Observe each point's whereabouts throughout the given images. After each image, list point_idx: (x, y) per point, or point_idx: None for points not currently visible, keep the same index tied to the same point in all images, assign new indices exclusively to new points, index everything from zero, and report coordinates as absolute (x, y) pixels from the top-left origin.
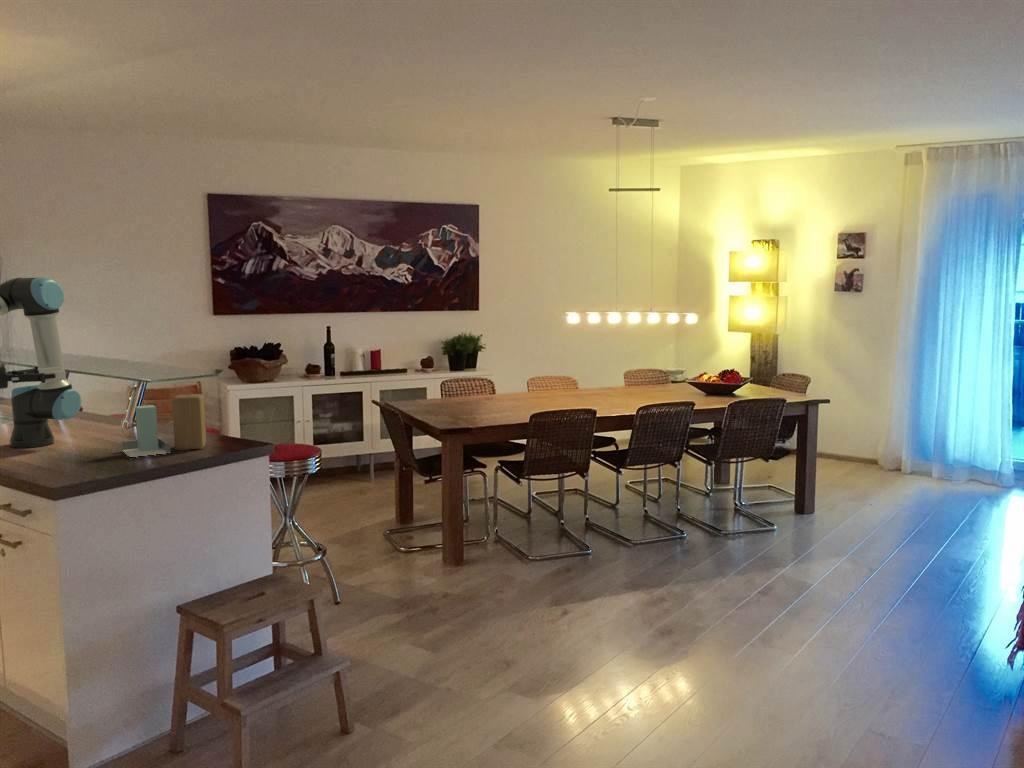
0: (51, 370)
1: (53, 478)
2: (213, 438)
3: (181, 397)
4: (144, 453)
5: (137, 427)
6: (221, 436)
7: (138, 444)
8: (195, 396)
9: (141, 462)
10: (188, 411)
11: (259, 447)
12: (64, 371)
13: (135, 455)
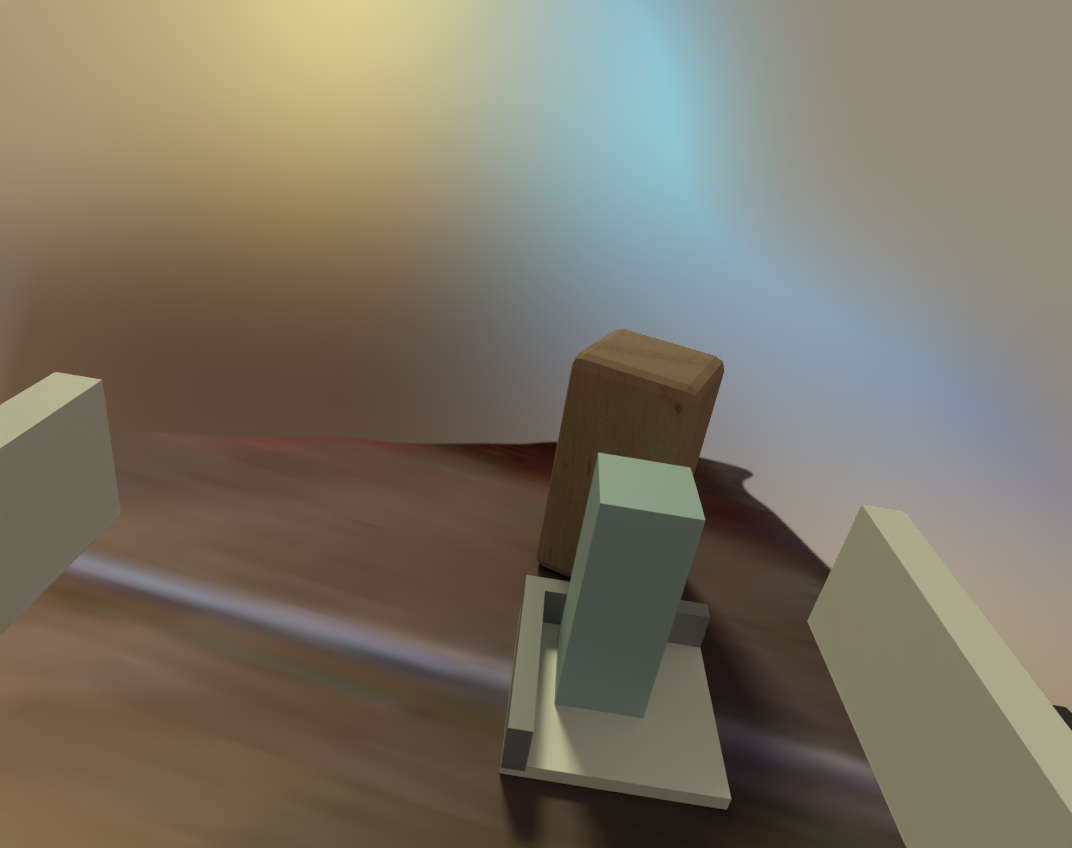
0: (4, 513)
1: None
2: (467, 466)
3: (698, 376)
4: (708, 725)
5: (603, 612)
6: (449, 445)
7: (584, 687)
8: (697, 354)
9: (874, 804)
10: (700, 432)
11: (720, 468)
12: (908, 525)
13: (723, 771)
